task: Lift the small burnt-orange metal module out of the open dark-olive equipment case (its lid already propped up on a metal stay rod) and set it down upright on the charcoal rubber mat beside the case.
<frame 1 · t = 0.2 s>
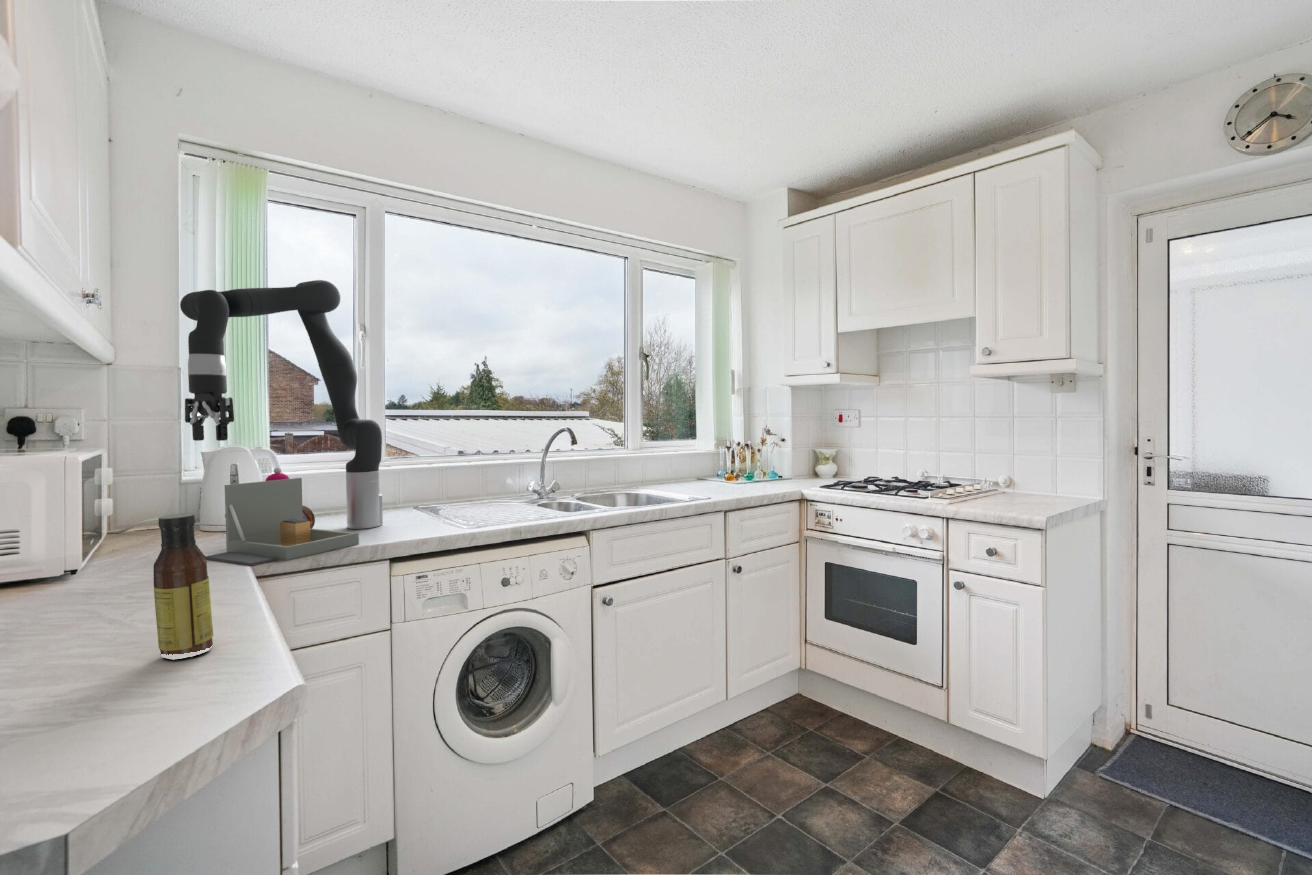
hand: (210, 440, 152), 28 cm above the counter, tool pointing down, fingers open, 8 cm apart
brown rounded piece: (288, 534, 182), on the counter
module: (295, 548, 161), resting in case
case: (295, 548, 161), on the counter
sauce bottle: (185, 655, 88), on the counter
pepper mill: (279, 539, 174), on the counter
mat: (240, 559, 148), on the counter
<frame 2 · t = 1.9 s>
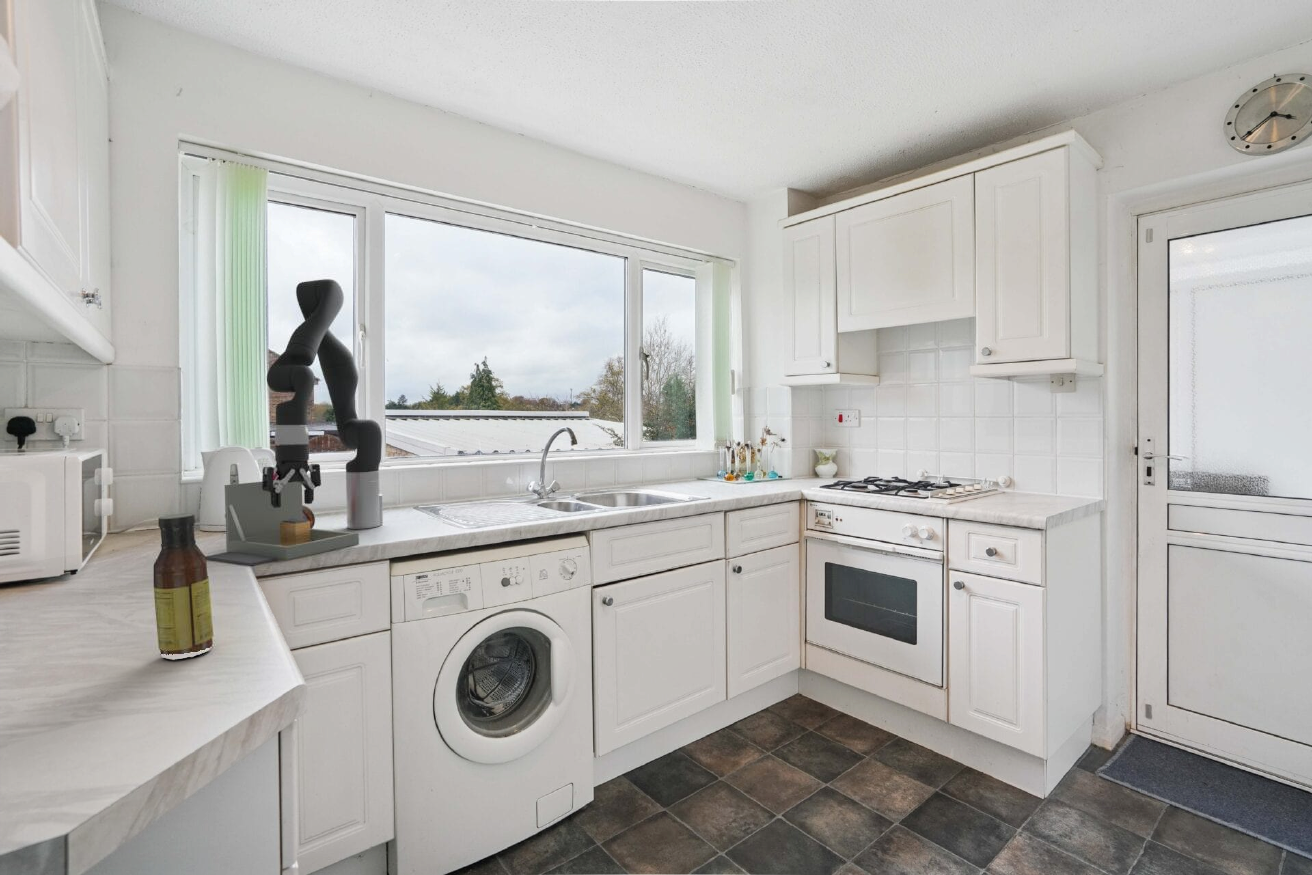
hand: (292, 505, 160), 11 cm above the counter, tool pointing down, fingers open, 8 cm apart
nothing on the counter moved.
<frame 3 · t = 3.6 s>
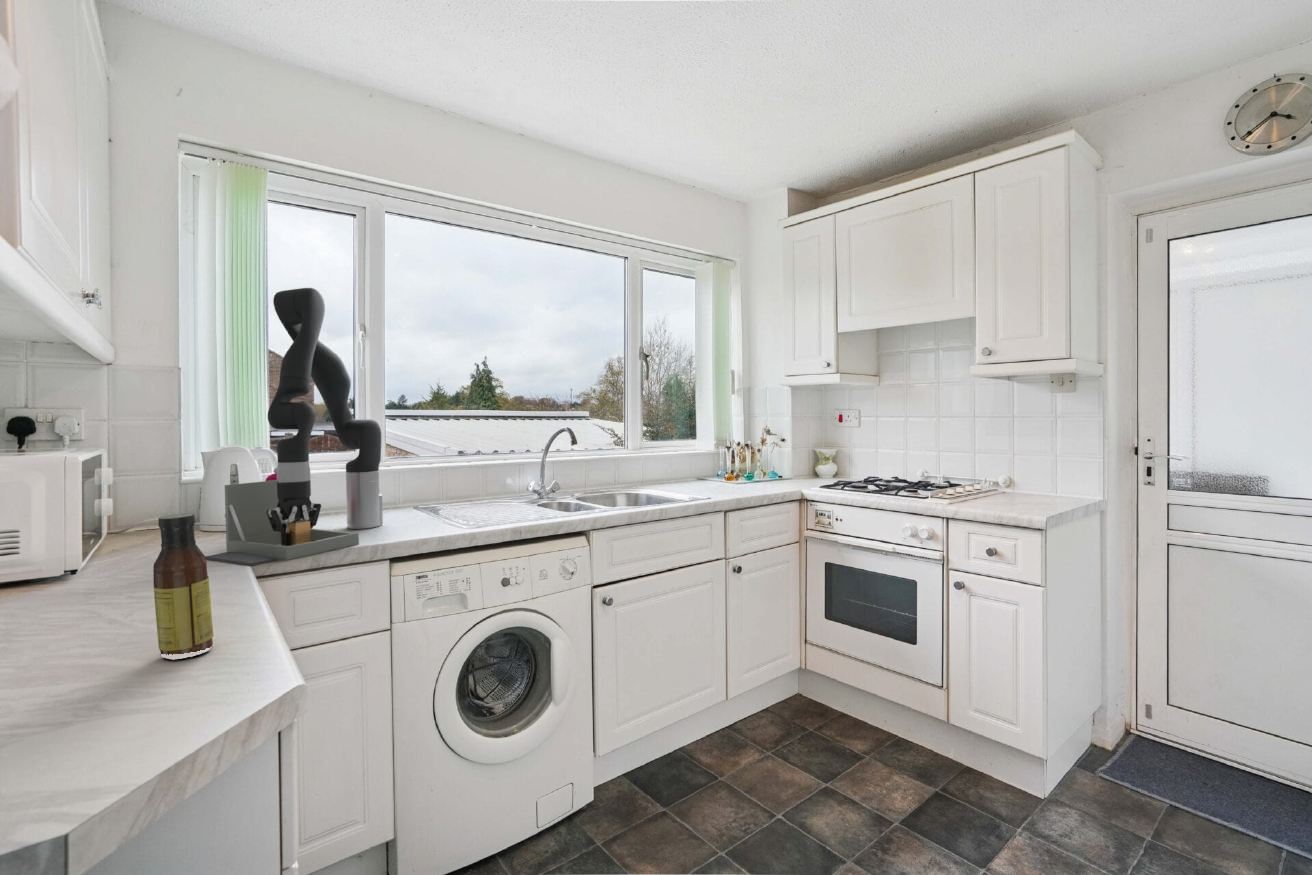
hand: (295, 545, 161), 1 cm above the counter, tool pointing down, fingers closed on module, 4 cm apart
module: (295, 548, 161), resting in case, touching gripper
everything else where it was.
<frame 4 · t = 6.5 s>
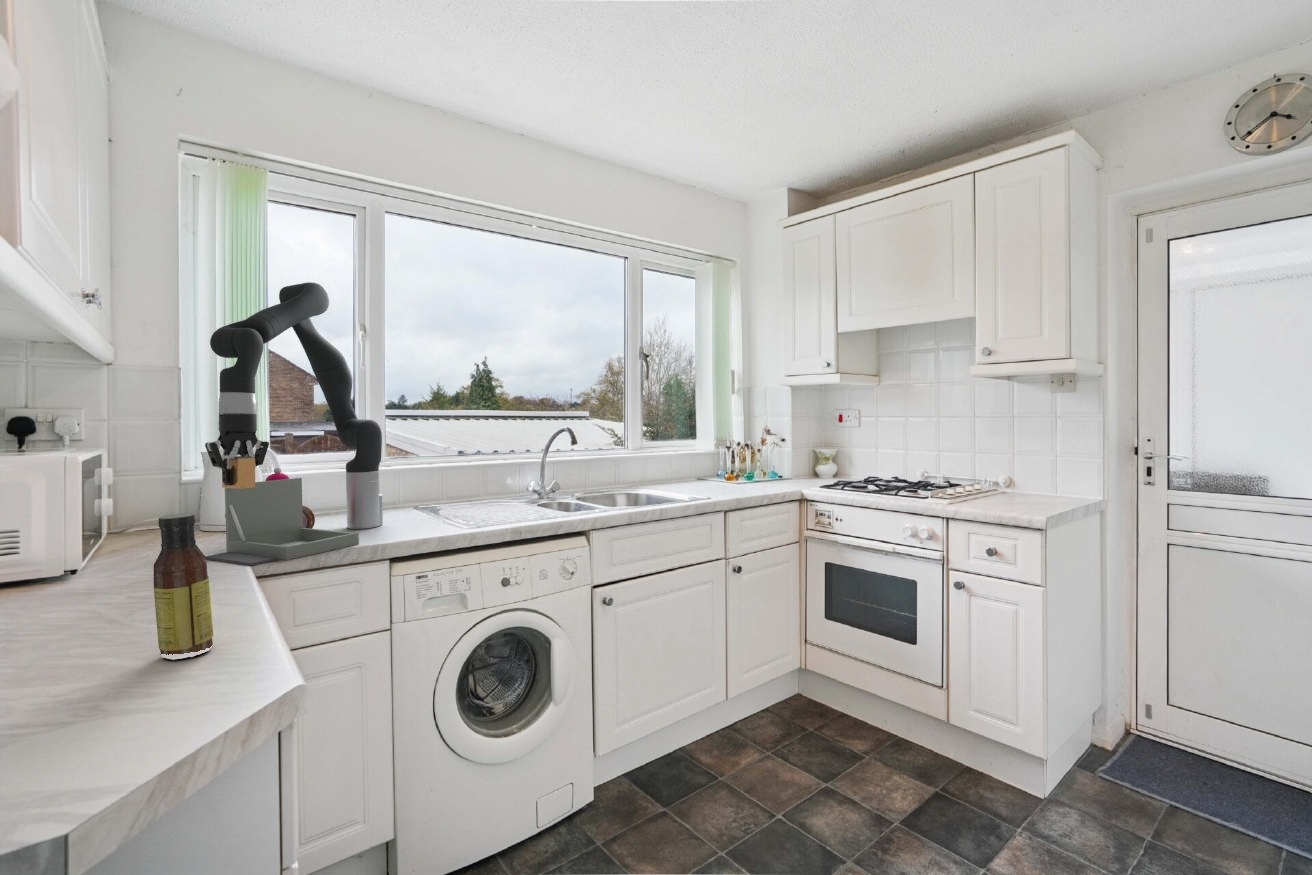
hand: (238, 484, 148), 18 cm above the counter, tool pointing down, fingers closed on module, 4 cm apart
module: (238, 487, 148), point 17 cm above the counter, touching gripper
everything else where it was.
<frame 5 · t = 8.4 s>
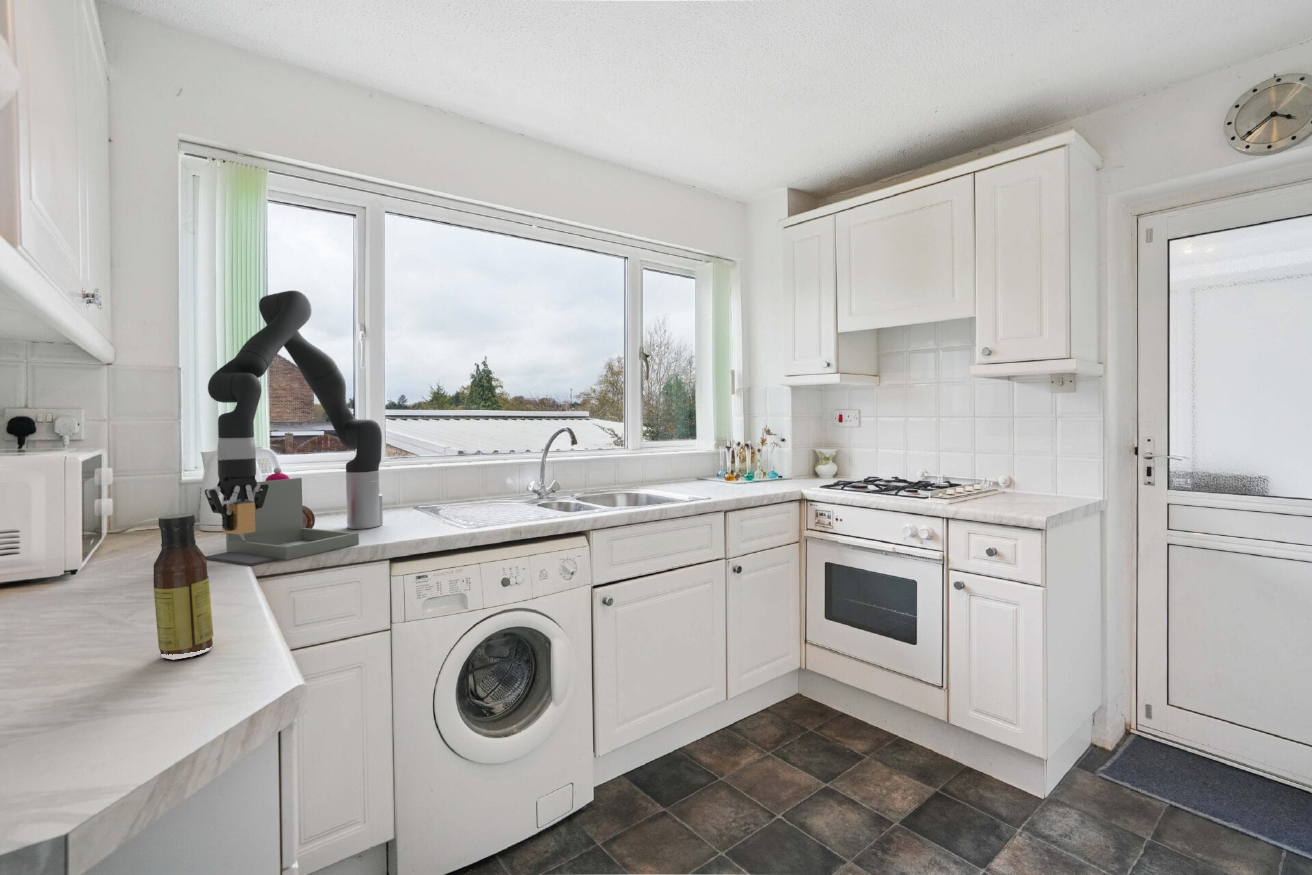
hand: (238, 528, 148), 7 cm above the counter, tool pointing down, fingers closed on module, 4 cm apart
module: (239, 531, 148), point 7 cm above the counter, touching gripper
everything else where it was.
when the fingers open (3 cm above the counter, at t = 9.7 s): module drops 1 cm, resting on mat.
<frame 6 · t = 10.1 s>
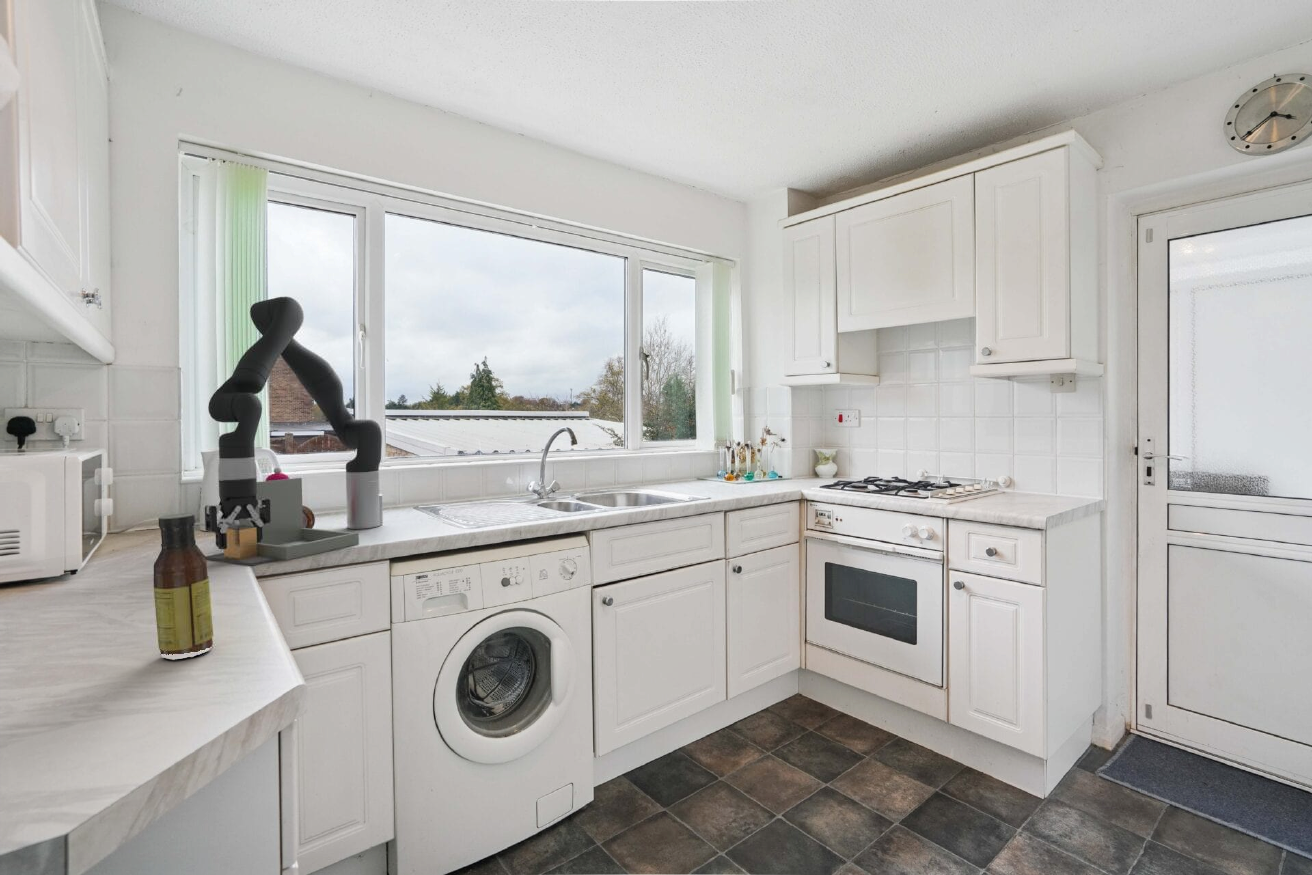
hand: (239, 545, 148), 3 cm above the counter, tool pointing down, fingers open, 7 cm apart
module: (240, 557, 148), point 1 cm above the counter, touching mat
everything else where it was.
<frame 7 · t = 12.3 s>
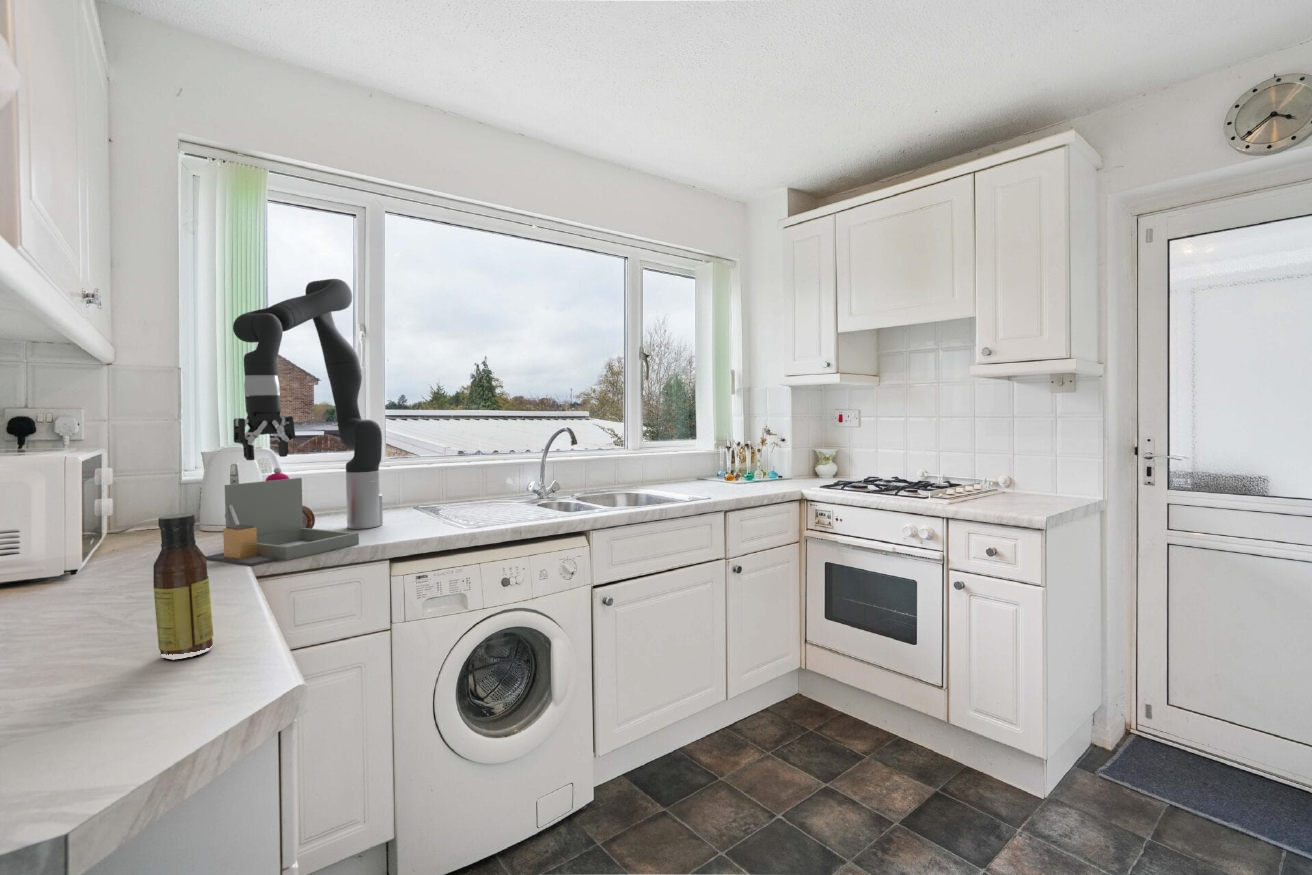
hand: (267, 458, 157), 24 cm above the counter, tool pointing down, fingers open, 8 cm apart
nothing on the counter moved.
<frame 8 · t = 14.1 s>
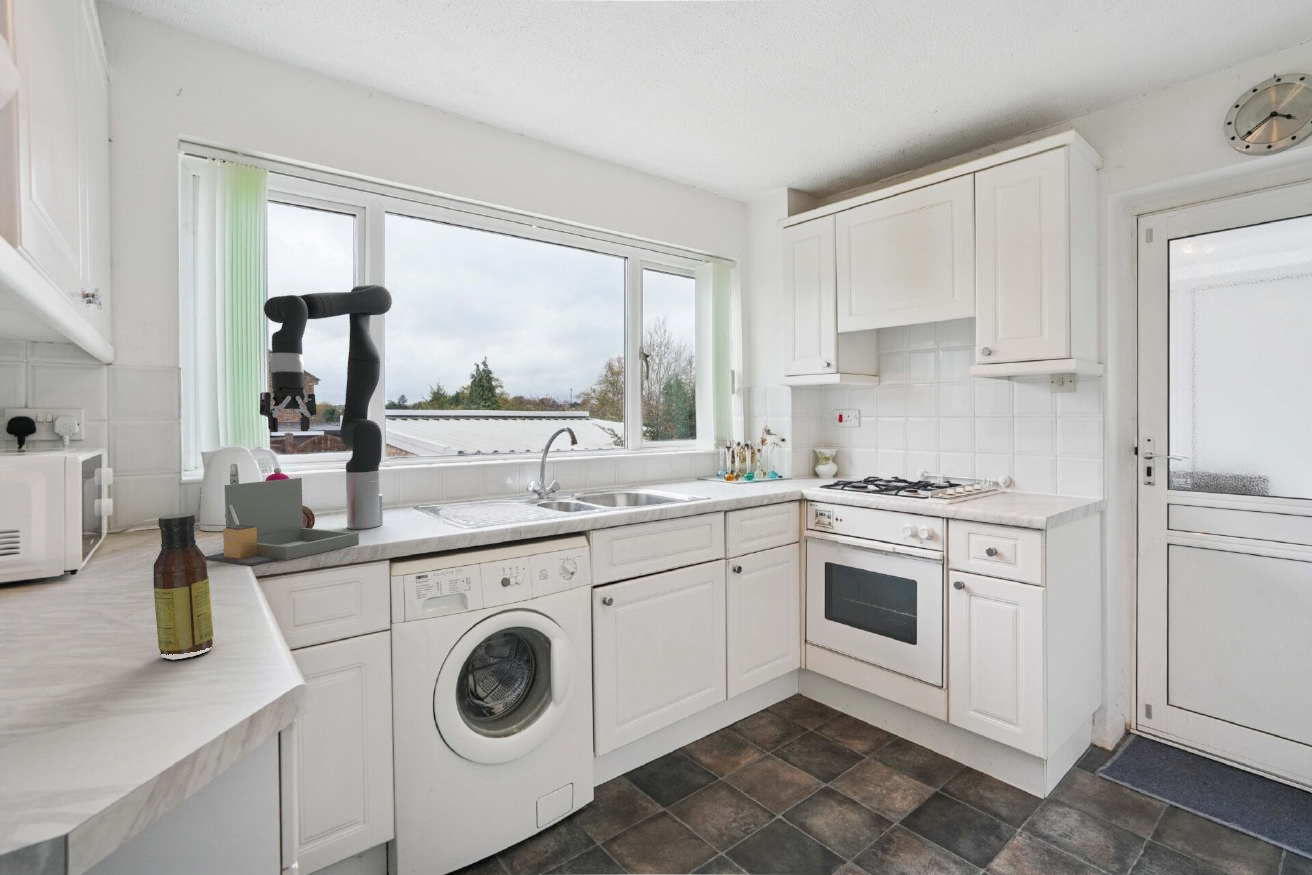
hand: (289, 431, 167), 30 cm above the counter, tool pointing down, fingers open, 8 cm apart
nothing on the counter moved.
at the end: module inside the target area on the mat (0.1 cm from its centre), point 0.6 cm above the mat's base; module tilted 0°; the gripper is holding nothing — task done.
